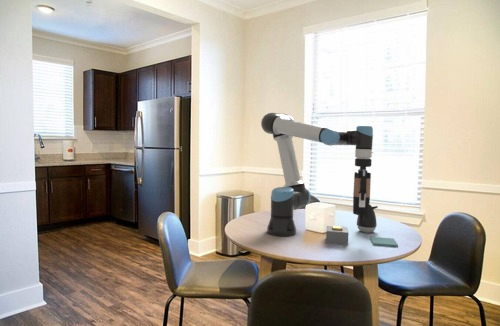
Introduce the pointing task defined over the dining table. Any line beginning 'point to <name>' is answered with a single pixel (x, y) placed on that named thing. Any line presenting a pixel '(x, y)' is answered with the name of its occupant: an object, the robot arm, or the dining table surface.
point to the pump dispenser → (367, 221)
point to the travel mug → (356, 208)
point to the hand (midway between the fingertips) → (361, 205)
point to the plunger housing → (337, 236)
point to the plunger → (337, 228)
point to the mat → (383, 241)
